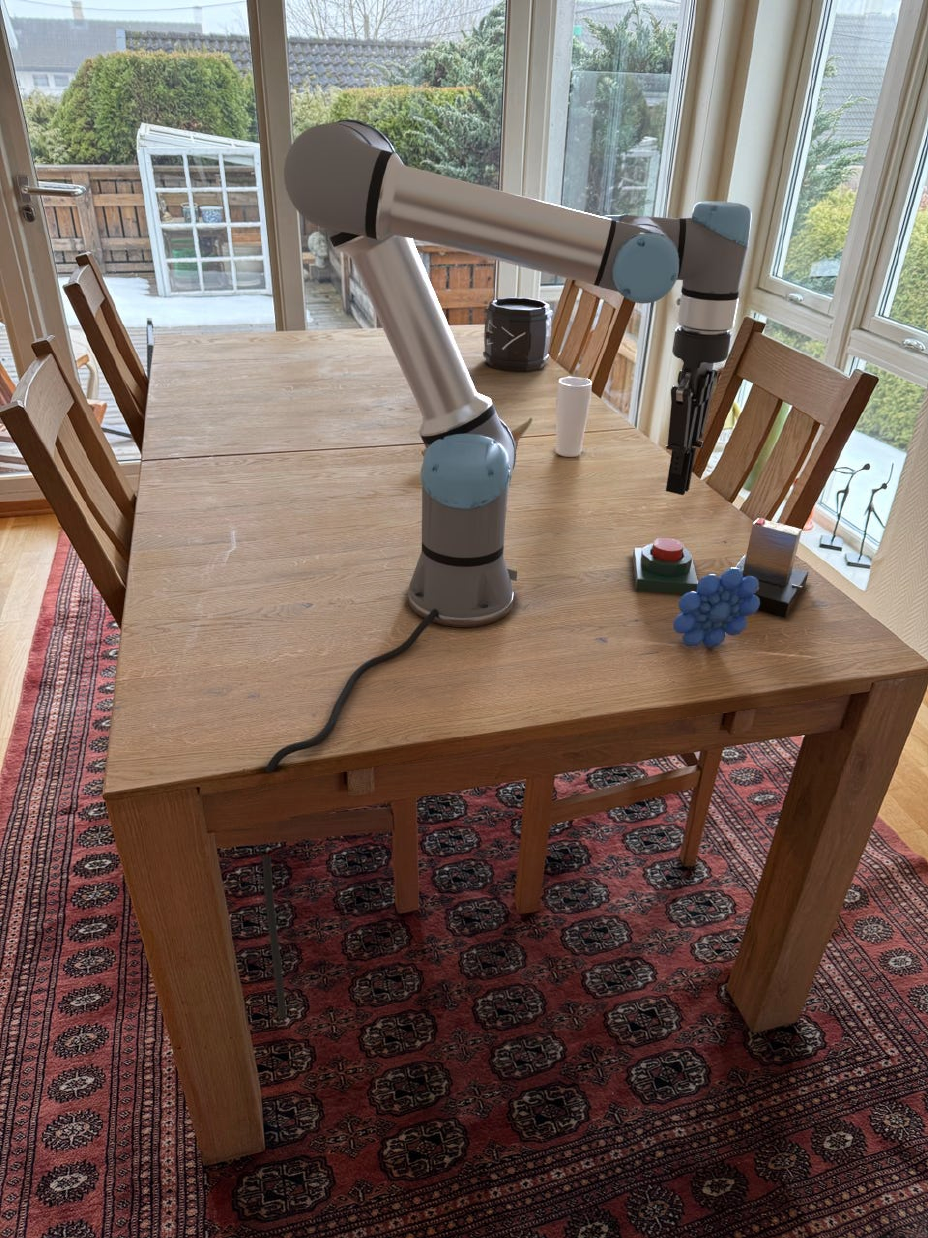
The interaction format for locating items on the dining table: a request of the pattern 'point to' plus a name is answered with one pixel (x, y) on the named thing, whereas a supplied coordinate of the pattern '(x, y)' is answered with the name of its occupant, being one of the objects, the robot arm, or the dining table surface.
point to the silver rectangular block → (771, 551)
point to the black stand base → (778, 592)
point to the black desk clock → (517, 334)
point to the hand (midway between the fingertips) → (677, 490)
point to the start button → (667, 549)
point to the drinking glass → (571, 414)
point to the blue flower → (717, 608)
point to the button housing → (663, 572)
